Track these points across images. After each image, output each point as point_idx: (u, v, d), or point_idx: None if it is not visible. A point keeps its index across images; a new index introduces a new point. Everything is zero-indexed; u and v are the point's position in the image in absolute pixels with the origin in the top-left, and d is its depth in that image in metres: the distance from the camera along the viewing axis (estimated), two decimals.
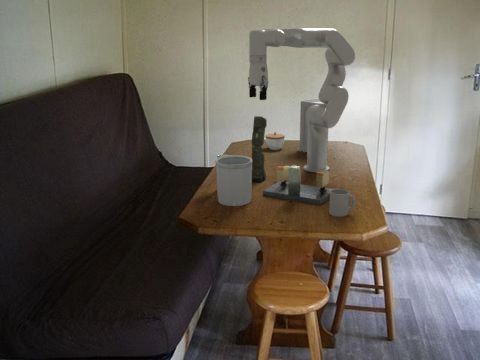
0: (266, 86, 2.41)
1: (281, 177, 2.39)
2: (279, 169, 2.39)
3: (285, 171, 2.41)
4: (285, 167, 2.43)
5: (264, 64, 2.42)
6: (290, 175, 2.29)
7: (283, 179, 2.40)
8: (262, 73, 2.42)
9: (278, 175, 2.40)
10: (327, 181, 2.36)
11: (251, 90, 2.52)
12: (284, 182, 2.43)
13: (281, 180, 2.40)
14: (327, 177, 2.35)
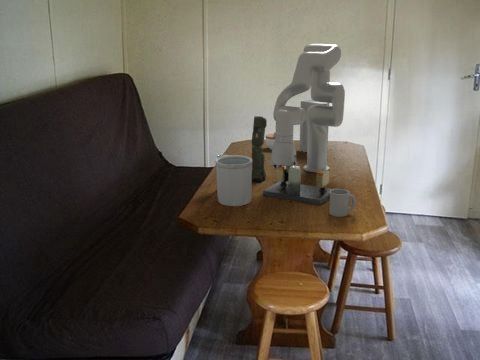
0: None
1: (281, 177, 2.39)
2: (279, 169, 2.39)
3: (285, 171, 2.41)
4: (285, 167, 2.43)
5: None
6: (290, 175, 2.29)
7: (283, 179, 2.40)
8: None
9: (278, 175, 2.40)
10: (327, 181, 2.36)
11: None
12: (284, 182, 2.43)
13: (281, 180, 2.40)
14: (327, 177, 2.35)
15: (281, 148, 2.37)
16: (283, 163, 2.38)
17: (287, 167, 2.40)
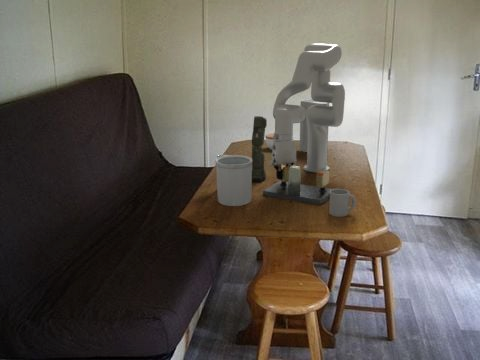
0: None
1: None
2: (286, 169, 2.38)
3: None
4: (283, 167, 2.43)
5: (275, 143, 2.36)
6: (290, 175, 2.29)
7: None
8: (273, 151, 2.38)
9: (285, 176, 2.39)
10: (327, 181, 2.36)
11: None
12: (285, 182, 2.44)
13: None
14: (327, 177, 2.35)
15: (287, 146, 2.37)
16: (289, 161, 2.40)
17: (290, 164, 2.42)
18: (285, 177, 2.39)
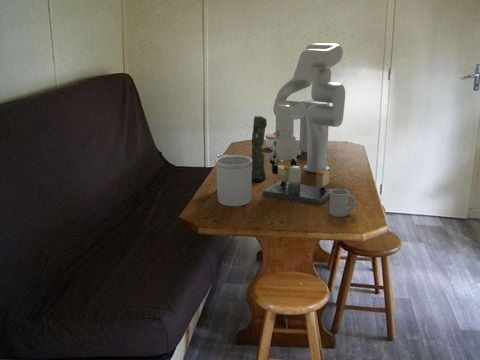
0: (269, 161, 2.37)
1: None
2: (287, 169, 2.38)
3: None
4: (283, 167, 2.43)
5: (276, 139, 2.36)
6: (290, 175, 2.29)
7: None
8: (274, 147, 2.38)
9: (286, 175, 2.39)
10: (327, 181, 2.36)
11: (291, 163, 2.45)
12: (285, 182, 2.44)
13: None
14: (327, 177, 2.35)
15: (288, 143, 2.37)
16: (290, 157, 2.39)
17: None
18: (286, 177, 2.39)
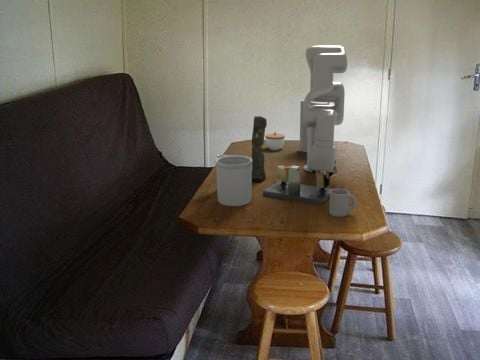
0: None
1: None
2: (287, 169, 2.38)
3: None
4: (283, 167, 2.43)
5: None
6: (290, 175, 2.29)
7: None
8: None
9: (286, 175, 2.39)
10: None
11: None
12: (285, 182, 2.44)
13: None
14: None
15: (321, 153, 2.29)
16: (323, 168, 2.30)
17: (327, 172, 2.31)
18: (286, 177, 2.39)
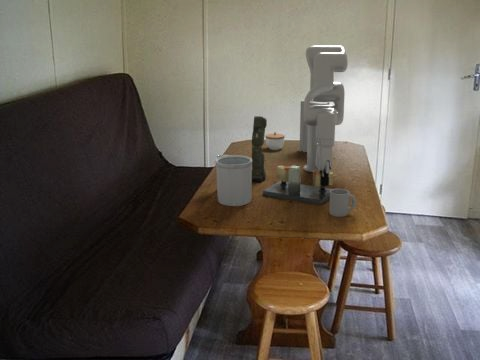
0: None
1: None
2: (287, 169, 2.38)
3: None
4: (283, 167, 2.43)
5: None
6: (290, 175, 2.29)
7: None
8: None
9: (286, 175, 2.39)
10: None
11: None
12: (285, 182, 2.44)
13: None
14: None
15: (318, 150, 2.31)
16: (318, 166, 2.31)
17: (322, 171, 2.31)
18: (286, 177, 2.39)
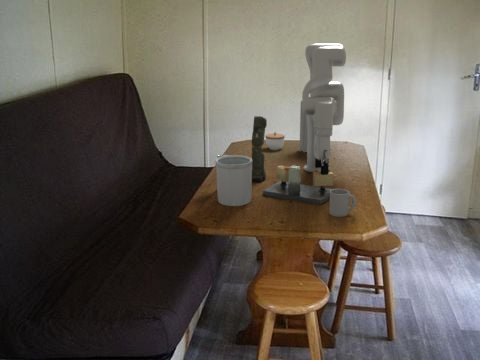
0: None
1: None
2: (287, 169, 2.38)
3: None
4: (283, 167, 2.43)
5: None
6: (290, 175, 2.29)
7: None
8: None
9: (286, 175, 2.39)
10: (328, 182, 2.34)
11: None
12: (285, 182, 2.44)
13: None
14: (328, 178, 2.33)
15: (316, 140, 2.31)
16: (316, 155, 2.32)
17: (321, 160, 2.29)
18: (286, 177, 2.39)
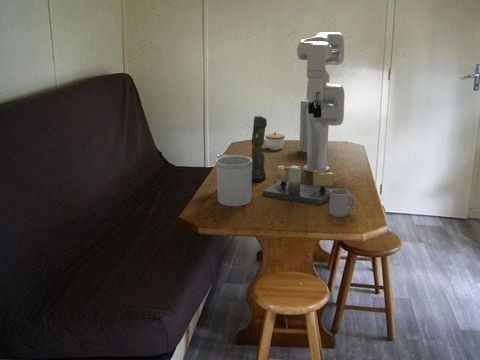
0: None
1: None
2: (287, 169, 2.38)
3: None
4: (283, 167, 2.43)
5: None
6: (290, 175, 2.29)
7: None
8: None
9: (286, 175, 2.39)
10: (328, 182, 2.34)
11: None
12: (285, 182, 2.44)
13: None
14: (328, 178, 2.33)
15: (309, 83, 2.31)
16: (309, 99, 2.32)
17: (314, 103, 2.29)
18: (286, 177, 2.39)
